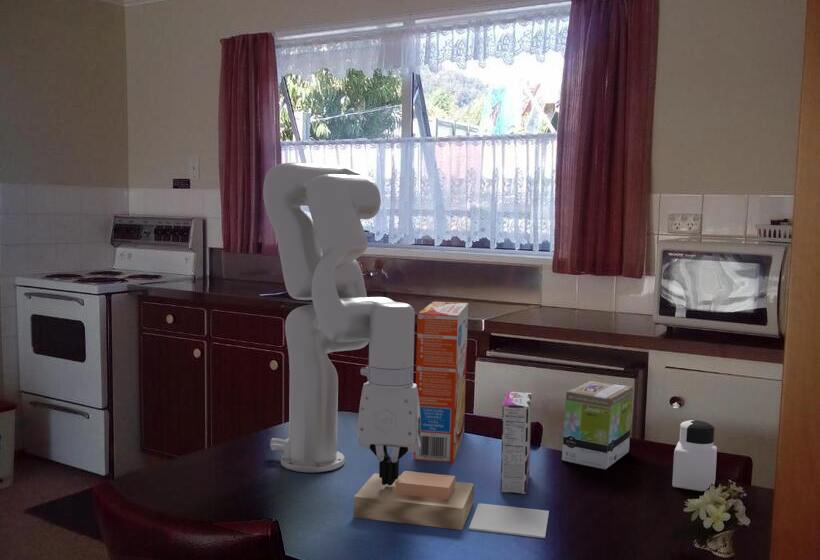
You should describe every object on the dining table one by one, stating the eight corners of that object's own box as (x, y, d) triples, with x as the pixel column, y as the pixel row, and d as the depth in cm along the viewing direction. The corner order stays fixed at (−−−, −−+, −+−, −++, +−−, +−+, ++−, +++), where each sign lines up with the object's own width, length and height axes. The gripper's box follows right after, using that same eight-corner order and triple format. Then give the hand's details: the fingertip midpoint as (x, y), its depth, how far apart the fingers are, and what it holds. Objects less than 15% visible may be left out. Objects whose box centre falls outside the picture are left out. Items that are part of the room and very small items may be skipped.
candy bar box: (503, 473, 152) (506, 390, 150) (529, 475, 151) (532, 392, 149) (498, 493, 141) (501, 403, 139) (526, 495, 140) (530, 406, 138)
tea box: (608, 471, 155) (612, 397, 153) (560, 461, 160) (563, 390, 159) (630, 452, 167) (633, 384, 166) (585, 444, 173) (588, 378, 171)
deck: (353, 517, 128) (354, 496, 127) (373, 492, 139) (374, 473, 139) (462, 529, 124) (462, 508, 123) (473, 503, 135) (473, 483, 135)
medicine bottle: (715, 482, 150) (718, 420, 149) (712, 493, 143) (716, 429, 142) (676, 475, 153) (679, 415, 152) (672, 487, 146) (675, 424, 145)
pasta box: (453, 462, 157) (457, 315, 155) (413, 459, 158) (417, 313, 156) (464, 432, 180) (468, 303, 177) (429, 429, 181) (433, 301, 178)
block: (395, 493, 129) (395, 482, 129) (403, 481, 135) (404, 470, 135) (448, 499, 127) (448, 487, 127) (454, 487, 133) (455, 476, 133)
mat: (468, 529, 124) (468, 527, 124) (478, 504, 135) (478, 503, 134) (545, 538, 121) (545, 536, 121) (548, 512, 132) (548, 510, 132)
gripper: (341, 377, 129) (339, 485, 130) (429, 383, 125) (427, 494, 127) (355, 368, 136) (353, 471, 137) (439, 374, 132) (436, 479, 134)
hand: (388, 482), depth 132 cm, fingers closed
